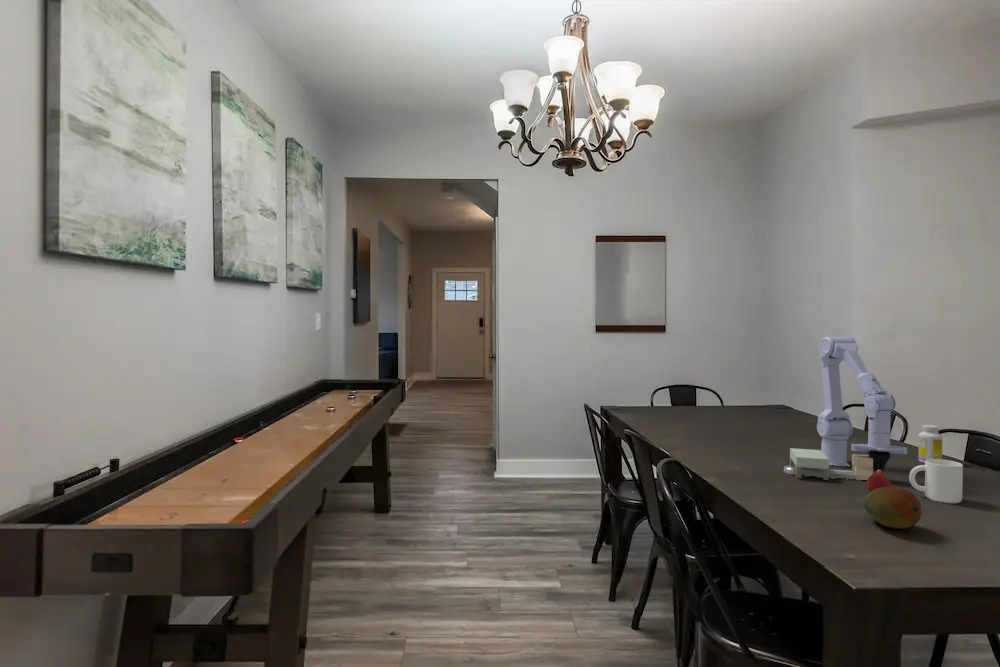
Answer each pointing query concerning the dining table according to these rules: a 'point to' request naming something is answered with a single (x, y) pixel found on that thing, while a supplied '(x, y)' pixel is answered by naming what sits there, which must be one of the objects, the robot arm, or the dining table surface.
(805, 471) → the beige piece
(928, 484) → the mug
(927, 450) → the supplement bottle
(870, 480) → the pomegranate
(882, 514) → the fruit
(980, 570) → the dining table surface
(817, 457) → the green top stand
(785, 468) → the token
